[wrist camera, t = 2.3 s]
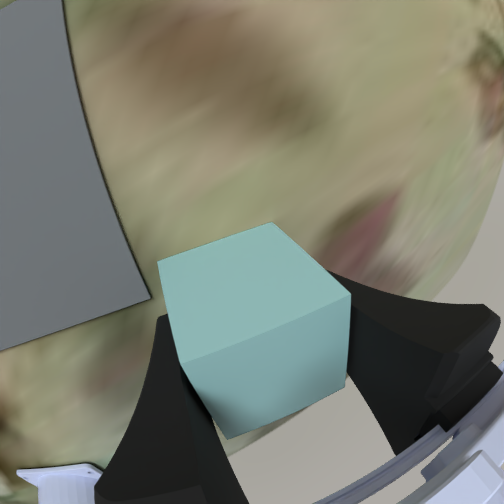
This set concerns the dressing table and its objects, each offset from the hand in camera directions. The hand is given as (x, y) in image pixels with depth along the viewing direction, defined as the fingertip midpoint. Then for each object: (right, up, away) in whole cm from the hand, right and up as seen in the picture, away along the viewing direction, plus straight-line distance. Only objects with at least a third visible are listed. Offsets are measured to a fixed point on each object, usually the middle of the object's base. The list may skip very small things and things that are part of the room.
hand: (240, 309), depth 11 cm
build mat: (-10, +3, -4) cm, 11 cm away
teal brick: (-1, +1, +1) cm, 1 cm away
